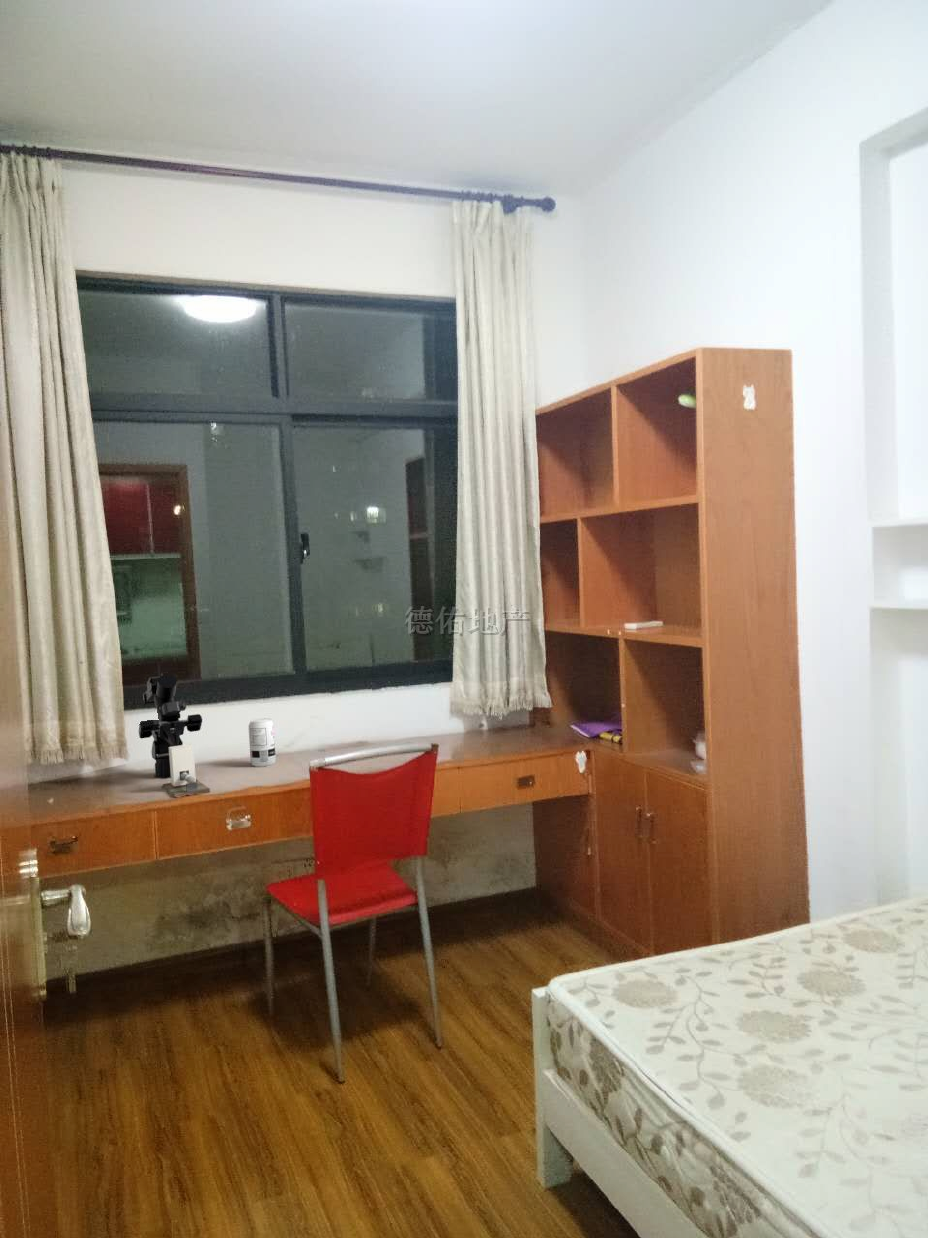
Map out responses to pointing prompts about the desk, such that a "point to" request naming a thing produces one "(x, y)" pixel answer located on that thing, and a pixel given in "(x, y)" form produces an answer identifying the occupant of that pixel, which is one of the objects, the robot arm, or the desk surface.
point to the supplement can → (262, 742)
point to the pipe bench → (186, 786)
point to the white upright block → (181, 763)
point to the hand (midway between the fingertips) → (176, 747)
